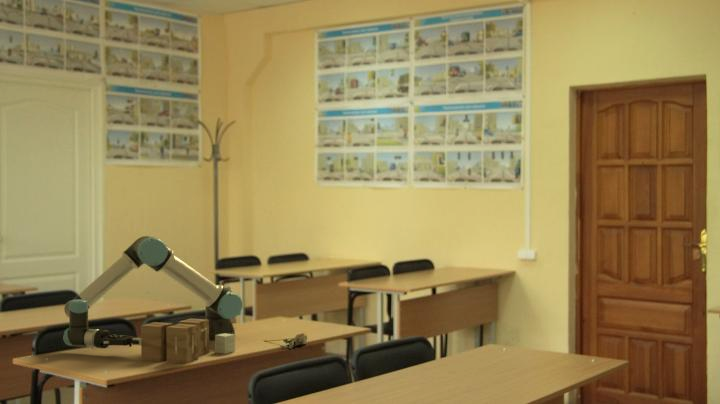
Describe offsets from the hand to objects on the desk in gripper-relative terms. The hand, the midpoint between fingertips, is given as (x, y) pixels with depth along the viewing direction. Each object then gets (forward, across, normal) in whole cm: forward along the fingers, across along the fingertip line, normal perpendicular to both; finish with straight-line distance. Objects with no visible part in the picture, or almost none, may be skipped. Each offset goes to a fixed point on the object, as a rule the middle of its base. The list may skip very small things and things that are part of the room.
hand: (146, 342), depth 370 cm
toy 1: (-10, -80, -7) cm, 81 cm away
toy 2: (+39, -45, -7) cm, 60 cm away
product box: (+23, -23, -7) cm, 33 cm away
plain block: (+5, 0, -6) cm, 8 cm away
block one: (+17, 0, -6) cm, 18 cm away
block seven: (+14, -14, -6) cm, 21 cm away
